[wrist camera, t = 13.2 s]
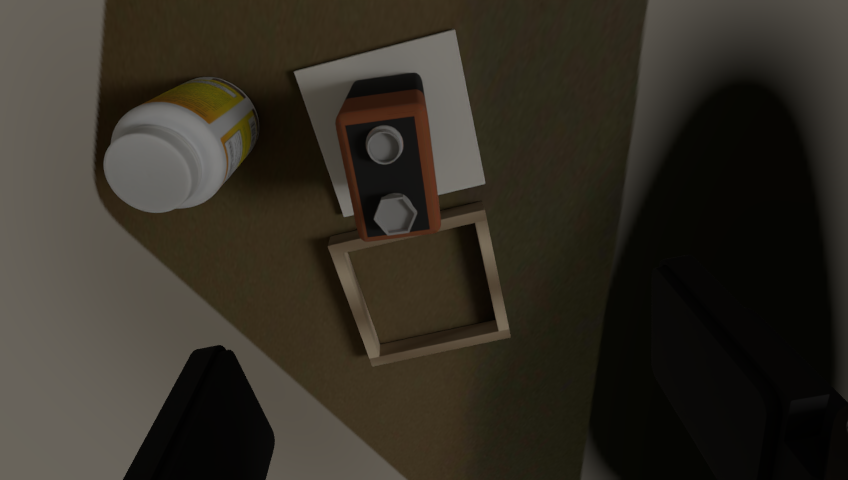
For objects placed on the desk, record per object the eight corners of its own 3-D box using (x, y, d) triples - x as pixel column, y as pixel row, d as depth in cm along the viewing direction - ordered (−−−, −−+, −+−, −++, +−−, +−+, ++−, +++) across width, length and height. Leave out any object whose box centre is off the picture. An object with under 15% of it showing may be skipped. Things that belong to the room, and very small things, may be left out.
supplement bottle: (155, 95, 32) (56, 141, 23) (233, 61, 31) (163, 95, 22) (204, 173, 35) (132, 244, 26) (277, 143, 34) (230, 205, 25)
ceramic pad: (295, 70, 32) (293, 71, 31) (454, 28, 31) (454, 29, 30) (344, 213, 36) (343, 217, 36) (484, 180, 35) (485, 183, 35)
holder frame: (330, 236, 37) (327, 246, 36) (481, 200, 36) (484, 209, 35) (373, 354, 42) (372, 366, 41) (507, 325, 41) (510, 337, 40)
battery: (369, 183, 35) (357, 254, 26) (350, 79, 32) (328, 120, 23) (434, 174, 34) (444, 243, 26) (420, 70, 31) (427, 106, 23)
